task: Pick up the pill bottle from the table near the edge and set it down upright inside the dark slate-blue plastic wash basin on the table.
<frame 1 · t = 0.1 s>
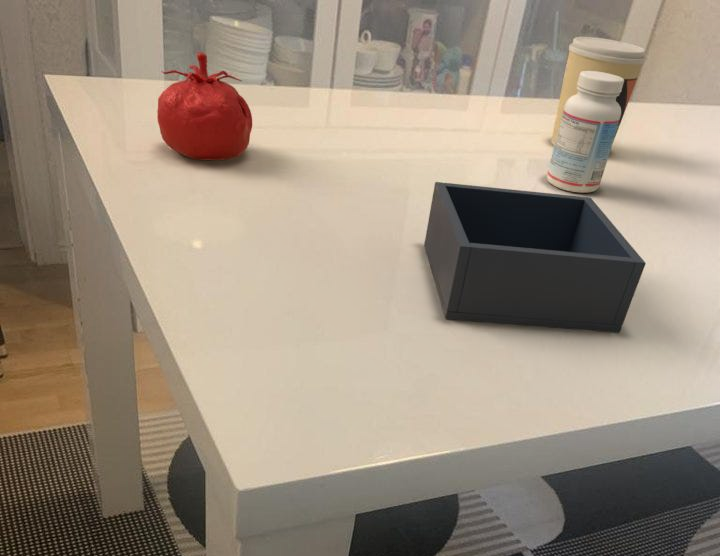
pill bottle: (570, 186, 84), on the table
basin: (514, 286, 61), on the table
coffee cup: (579, 148, 98), on the table
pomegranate: (205, 155, 78), on the table
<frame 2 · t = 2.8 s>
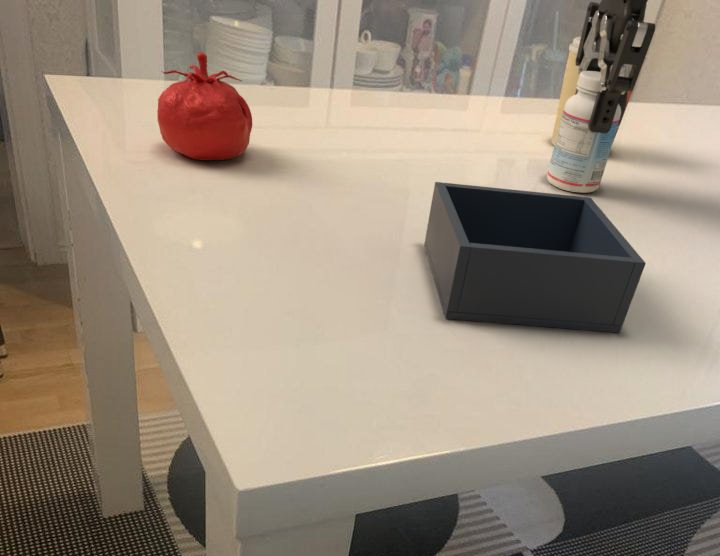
hand: (588, 122, 80), 7 cm above the table, tool pointing down, fingers closed on pill bottle, 6 cm apart
pill bottle: (570, 186, 84), on the table, touching gripper
everything else where it was.
when the fingers open (7 cm above the table, at t = 11.7 s): pill bottle stays where it is, resting on basin.
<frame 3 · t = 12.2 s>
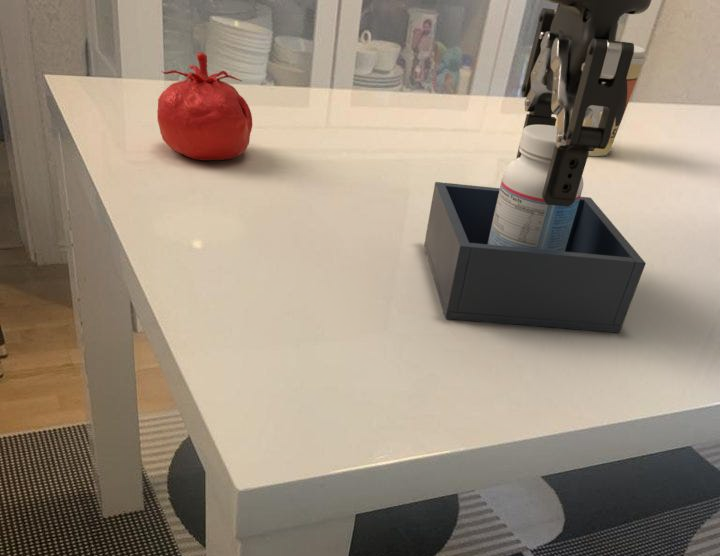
hand: (542, 184, 55), 8 cm above the table, tool pointing down, fingers open, 8 cm apart
pill bottle: (516, 281, 60), resting on basin
everything else where it was.
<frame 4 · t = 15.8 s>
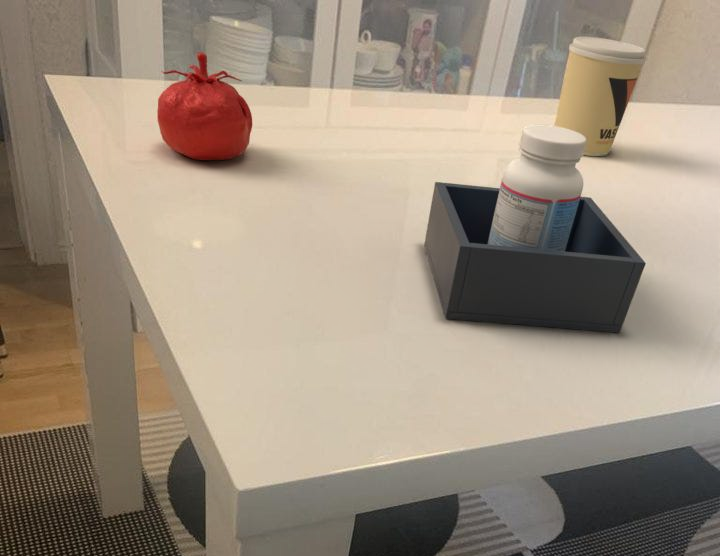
nothing on the table moved.
at the end: pill bottle inside the target area in the basin (0.1 cm from its centre), point 0.4 cm above the basin's base; pill bottle tilted 0°; the gripper is holding nothing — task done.
